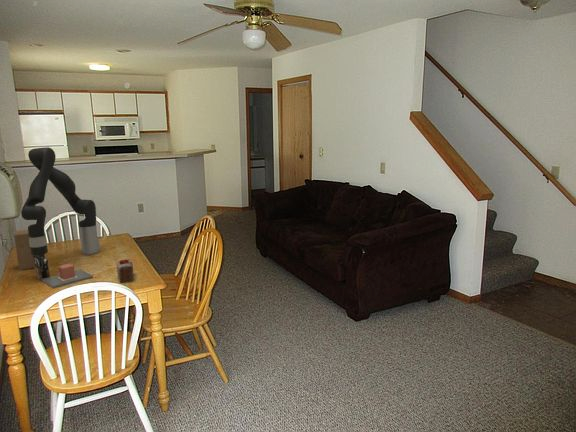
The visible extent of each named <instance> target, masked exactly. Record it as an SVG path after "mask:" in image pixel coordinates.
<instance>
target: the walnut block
mask: <svg viewBox="0 0 576 432" xmlns="http://www.w3.org/2000/svg"><path fill="white" fill-rule="evenodd" d="M44 268H45V267H44ZM46 271H47V277H46V278H48V277H51V275H50V268H49V265H48V270H46ZM34 274H35V278H36V279H37V280H38V281H42V279H44V278H42V273H41V268H40V267H39V266H35V268H34Z"/></svg>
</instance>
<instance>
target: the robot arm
mask: <svg viewBox="0 0 576 432" xmlns="http://www.w3.org/2000/svg"><path fill="white" fill-rule="evenodd" d="M27 155H28V159H29V161H30V163H31V164H32V165H33V166H34V167H35V168H36V169H37V170H38V171H39V172H38V174H37V175H36V176H35V177H34V179H33V180H32V181H31V184H30V186H29V191H28V197H27V198H26V201H25V203H24V204H23V206H22V208H21V212H20V214H21V217H22V219H24V220H25V221H36V223H34V224H30V225H28V226H27V230H28V233H29V244H30V251H31V255H33V258H34V263H35V266H39V267H40V268H41V273H42V278H46V277H47V271H46V270H48V266H49V261H48V260H49V259H47V258H46V256H45V254H48V253H49V252H48V243H47V237H46V232H45V231H46V230H45V223H46V217H47V210H46V208H45V207H44V206H42V205H38V204H41V203H44V201H45V196H46V193H47V192H46V190H47V187H48V186H47V185H48V182H49V181H50V183H51V184H52V185H53V186H54V188H55V189H56V190H57V191H58V192H59V193H60V194H61V196H63V198H64V199H65V201H66V202H68V204H69V205H70V208H71V209H72V210H73V211H74V212H75V214H76V215H77V214H78V215H81V216H84V219H83V220H79V222H78V228H79V229H78V230H79V238H80V248H81V253H82V255H85V256H87V255H89V256H90V255H94V254H98V253H100V252H101V251H100V250H101V247H100V240H99V236H98V233H97V226H96V225H97V224H96V222H97V207H96V203H95V202H94V200H92V199H81V198H80V197H79V195H77V193H76V184H75V182H74V181H73V179H72V178H71V177H70V176H69V175H68V174H67V173H65V172H63V171H62V170H60V169H58V168H56V167H54V166H55V163H56V153H55V150H53V148H52V147H50V146H49V147H48V146H47V147H38V148H32V149H30V150H29V151H28V153H27ZM44 267H45V268H44Z"/></svg>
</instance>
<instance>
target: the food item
mask: <svg viewBox="0 0 576 432" xmlns="http://www.w3.org/2000/svg"><path fill="white" fill-rule="evenodd" d="M116 272H117V277H118V279H119V281H120V283H128V282H133V281H134V264H133V261H130V259H120V260H117V262H116Z"/></svg>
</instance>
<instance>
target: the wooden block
mask: <svg viewBox="0 0 576 432" xmlns="http://www.w3.org/2000/svg"><path fill="white" fill-rule="evenodd" d="M13 237H14V243H15V250H16V257H17V264H18V269H19V271H24V270H29V269H35V263H34V258H33V255H31V251H30V244H29V233H28V229H22V230H15V233H14V235H13Z"/></svg>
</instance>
